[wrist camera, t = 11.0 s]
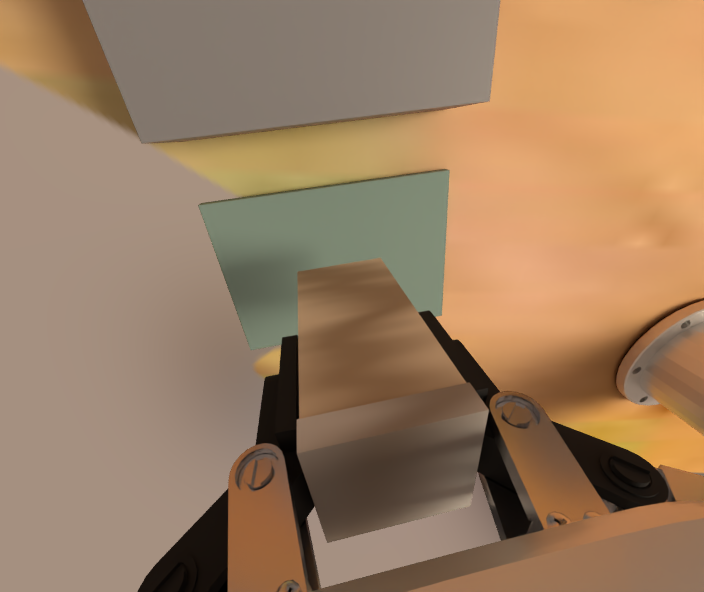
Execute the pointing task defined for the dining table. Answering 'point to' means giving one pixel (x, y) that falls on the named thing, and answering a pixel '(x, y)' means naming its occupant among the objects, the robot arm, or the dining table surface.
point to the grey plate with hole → (291, 61)
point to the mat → (328, 243)
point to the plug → (379, 405)
